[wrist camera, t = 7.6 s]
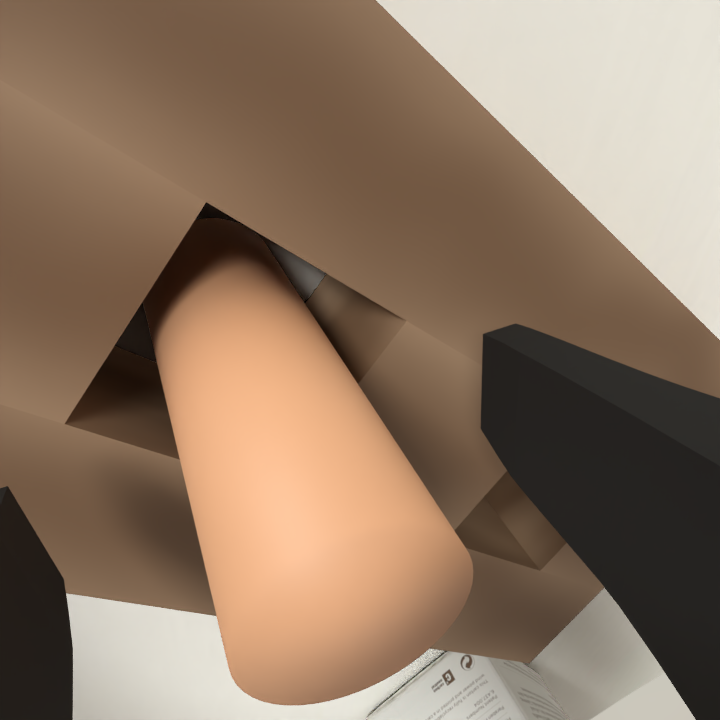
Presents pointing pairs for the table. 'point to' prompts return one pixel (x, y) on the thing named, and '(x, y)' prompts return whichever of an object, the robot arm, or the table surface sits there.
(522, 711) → the skincare box
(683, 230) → the table surface
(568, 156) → the table surface
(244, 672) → the peg
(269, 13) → the hole block
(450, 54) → the table surface
